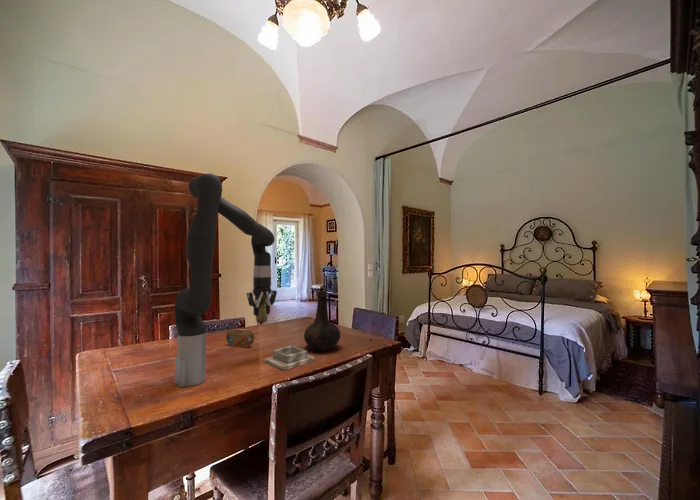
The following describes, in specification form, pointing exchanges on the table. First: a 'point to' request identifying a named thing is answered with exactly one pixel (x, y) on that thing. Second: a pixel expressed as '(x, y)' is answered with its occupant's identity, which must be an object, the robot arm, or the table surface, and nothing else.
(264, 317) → the fennel bulb
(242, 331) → the tin
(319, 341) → the glass bottle
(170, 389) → the table surface
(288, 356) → the grey piece
